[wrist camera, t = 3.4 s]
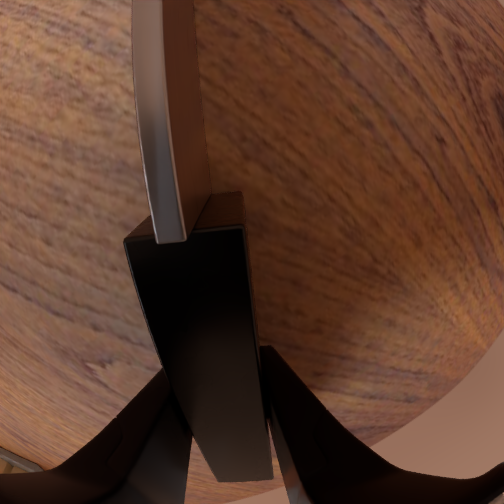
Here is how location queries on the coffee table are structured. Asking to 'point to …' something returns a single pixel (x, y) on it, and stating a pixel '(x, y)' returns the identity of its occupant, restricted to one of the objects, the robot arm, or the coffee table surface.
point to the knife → (194, 254)
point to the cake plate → (15, 463)
